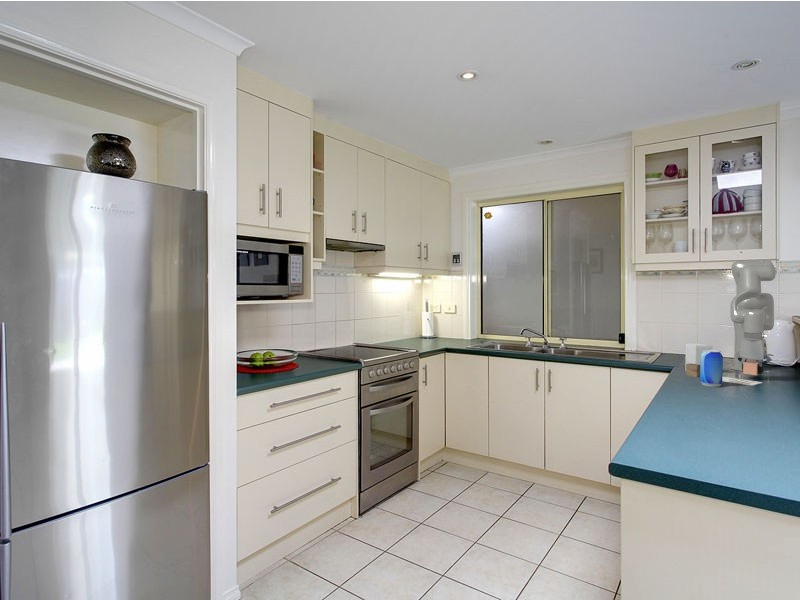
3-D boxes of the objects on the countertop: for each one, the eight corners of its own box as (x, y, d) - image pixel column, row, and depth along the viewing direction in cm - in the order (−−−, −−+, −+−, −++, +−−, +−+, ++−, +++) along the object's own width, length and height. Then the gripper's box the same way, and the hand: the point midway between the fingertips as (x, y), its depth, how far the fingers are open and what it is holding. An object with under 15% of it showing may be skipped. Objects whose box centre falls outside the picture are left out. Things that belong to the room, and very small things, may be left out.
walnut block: (690, 375, 233) (690, 363, 233) (701, 376, 229) (701, 364, 229) (685, 376, 230) (686, 364, 230) (696, 377, 226) (696, 365, 226)
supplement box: (712, 374, 236) (713, 345, 236) (695, 373, 236) (695, 345, 236) (701, 370, 245) (702, 343, 245) (684, 370, 245) (685, 343, 245)
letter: (722, 376, 228) (722, 376, 228) (763, 382, 214) (763, 382, 214) (710, 379, 221) (710, 379, 221) (751, 385, 207) (751, 385, 207)
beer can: (715, 383, 212) (716, 349, 211) (726, 387, 203) (727, 352, 203) (696, 383, 212) (697, 349, 212) (706, 387, 204) (707, 351, 204)
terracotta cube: (747, 371, 225) (748, 360, 225) (761, 373, 220) (761, 362, 220) (743, 373, 222) (743, 362, 222) (756, 375, 218) (756, 364, 217)
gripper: (778, 337, 215) (776, 374, 216) (736, 333, 229) (735, 368, 231) (771, 338, 211) (770, 377, 212) (729, 334, 225) (728, 370, 226)
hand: (752, 372), depth 221 cm, fingers closed on terracotta cube, 5 cm apart
